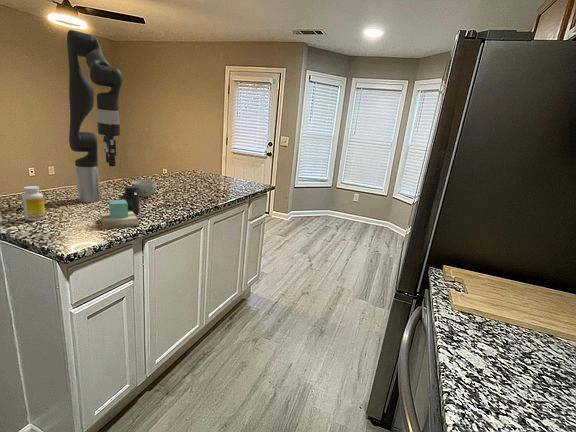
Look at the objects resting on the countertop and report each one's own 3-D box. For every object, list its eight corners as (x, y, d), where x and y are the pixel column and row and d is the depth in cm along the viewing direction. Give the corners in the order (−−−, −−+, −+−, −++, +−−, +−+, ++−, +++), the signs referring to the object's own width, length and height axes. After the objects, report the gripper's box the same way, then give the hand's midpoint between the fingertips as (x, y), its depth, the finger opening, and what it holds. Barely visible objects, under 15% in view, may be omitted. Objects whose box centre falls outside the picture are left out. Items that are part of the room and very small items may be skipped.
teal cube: (109, 214, 129) (108, 200, 127) (125, 213, 133) (125, 199, 131) (111, 218, 125) (110, 204, 123) (128, 217, 128) (127, 203, 126)
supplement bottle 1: (50, 218, 126) (46, 187, 123) (32, 222, 120) (28, 189, 117) (38, 215, 128) (34, 184, 125) (20, 219, 122) (15, 187, 118)
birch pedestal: (101, 219, 131) (100, 212, 130) (132, 217, 137) (132, 210, 137) (104, 228, 121) (103, 221, 121) (137, 225, 128) (137, 218, 127)
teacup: (127, 195, 171) (126, 181, 169) (146, 192, 182) (146, 179, 180) (145, 200, 165) (144, 186, 163) (164, 197, 175) (164, 183, 173)
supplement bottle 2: (143, 212, 146) (142, 187, 143) (130, 215, 140) (129, 189, 137) (132, 209, 149) (131, 184, 145) (120, 212, 143) (118, 186, 139)
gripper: (95, 120, 123) (97, 161, 127) (99, 122, 112) (101, 167, 116) (116, 122, 127) (118, 161, 132) (122, 124, 116) (124, 167, 121)
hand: (110, 164), depth 124 cm, fingers open, 8 cm apart
